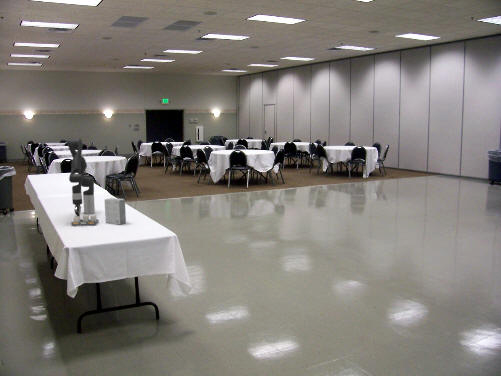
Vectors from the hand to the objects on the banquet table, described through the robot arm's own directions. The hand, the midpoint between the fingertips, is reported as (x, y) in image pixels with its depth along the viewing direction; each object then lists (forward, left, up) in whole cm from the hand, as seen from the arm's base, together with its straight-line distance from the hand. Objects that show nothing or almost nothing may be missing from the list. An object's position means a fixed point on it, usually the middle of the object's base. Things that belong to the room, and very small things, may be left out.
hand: (78, 219), depth 400 cm
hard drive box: (+1, +30, -4) cm, 30 cm away
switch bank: (+3, +6, -4) cm, 8 cm away
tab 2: (0, +6, -2) cm, 6 cm away
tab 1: (+4, 0, -2) cm, 5 cm away
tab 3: (0, +12, -2) cm, 12 cm away
